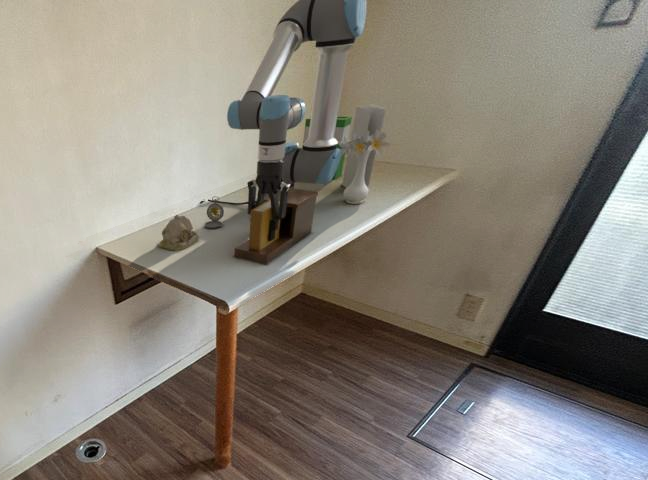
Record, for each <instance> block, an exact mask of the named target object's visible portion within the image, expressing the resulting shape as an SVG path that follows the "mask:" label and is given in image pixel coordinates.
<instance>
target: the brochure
mask: <svg viewBox="0 0 648 480" xmlns="http://www.w3.org/2000/svg"><path fill="white" fill-rule="evenodd" d="M386 112H387V108H386V107H382V106H378V105H376V104H373V103H370V104H369V106H367V105H366V106H365V105H356V109H355V114H354V119H353V123H352V124H353V125H352V130H351V134H350V135H351V136H350V139H351V138H352V135H353V133H355V134H356V137H355V138H357V137H361V136H362V135H364V133H365V132H366V131H369V136H371V135H374V136H375V137H376V130H378V131H379V135H380V134H381V133H382V128H383V125H384V122H385V121H384V120H385V116H386ZM369 136H368V137H369ZM371 144H372V143H371ZM371 144H369V145H368V147H369V146H370V145H371ZM353 148H354V147H351V148H350V150H351V149H353ZM376 156H377V153H376V151H375V149H374V150H372V151H371V152H370V154H369V157H368V159H367V163H366V169H365V175H364V180H365V184H366V186H367V187H368V188H369V186H370V182H371V177H372V173H373V168H374V165H375V160H376ZM358 161H359V159H357V158H356V153H355V154H353V155H347V156H346V161H345V167H344V172H343V178H342V183H341V186H343V187H344V188H345V189H346V188H347V187H348V186H349V185H350V184H351V183H352V181H353V179H354V177H355V174H356V170H357V166H358Z"/></svg>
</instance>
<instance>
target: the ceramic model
mask: <svg viewBox="0 0 648 480" xmlns="http://www.w3.org/2000/svg"><path fill="white" fill-rule="evenodd" d="M193 230H194V227H193V224H192V222H191V220H190V218H189V217H186V215H180V216H179V215H178V214H176V215H174V216H173V218H172V219H170V220H169V221H168V223H167V224H166V226H165V227H164V228H163V229H162V231H161V235H162V240H160V242H159V244H158V247H159V248H164V249H167V250H169V251H179V250H184V249H186V248H188V247H190V246H192V245H194V244H195V243H196V242H197V241H198V239H199V233H198V232H197V231H193Z"/></svg>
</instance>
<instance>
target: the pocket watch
mask: <svg viewBox="0 0 648 480" xmlns="http://www.w3.org/2000/svg"><path fill="white" fill-rule="evenodd" d="M216 198H217V199H216ZM211 200H213V201H214V202H215V203H214V202H212V203H211V204H209V206H208V207H207V209H206V216H207V218H208V219H209V220H208V221H206V222H205V223H204V227H205V228H207V229H217V228H221V227H222V226H223V222H222V221H220V220H221V219H222V218H223V217H224V214H225V211H224V206H222V205H221V203H216V202H217V201H220V198H219V197H218V196H212V197H211Z"/></svg>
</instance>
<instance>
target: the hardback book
mask: <svg viewBox="0 0 648 480" xmlns="http://www.w3.org/2000/svg"><path fill="white" fill-rule="evenodd" d="M352 119H353V116H352V115H351V116H350V115H347V116H345V115H343V116H342V115H337V121H336V127H335V133H334V138H335V139H336V141H337V142H338V143H339V142H340V141H344V135H345V134H346V135H347V137H348V138H349V134H350V130H351V125H352ZM310 121H311V118H306V119H305V123H304V130H303V131H304V132H303V140H302V144H303V143H304V142H305V141H306V140H307V139H308V136H309V129H310ZM344 142H345V141H344ZM338 143H337V148H339V149H340V150H342V149H343V148H344V147H340V146H339V145H338ZM301 148H303V145H302V147H301ZM345 157H346V152H345V153H344V154H343V155H342V156H341V158H340V162H339V165H338V168H337V170H336V173H335V175H334V177H333V178H332V180H336V179H338V178H339V177H341V176H342V172H343V167H344V162H345Z"/></svg>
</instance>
